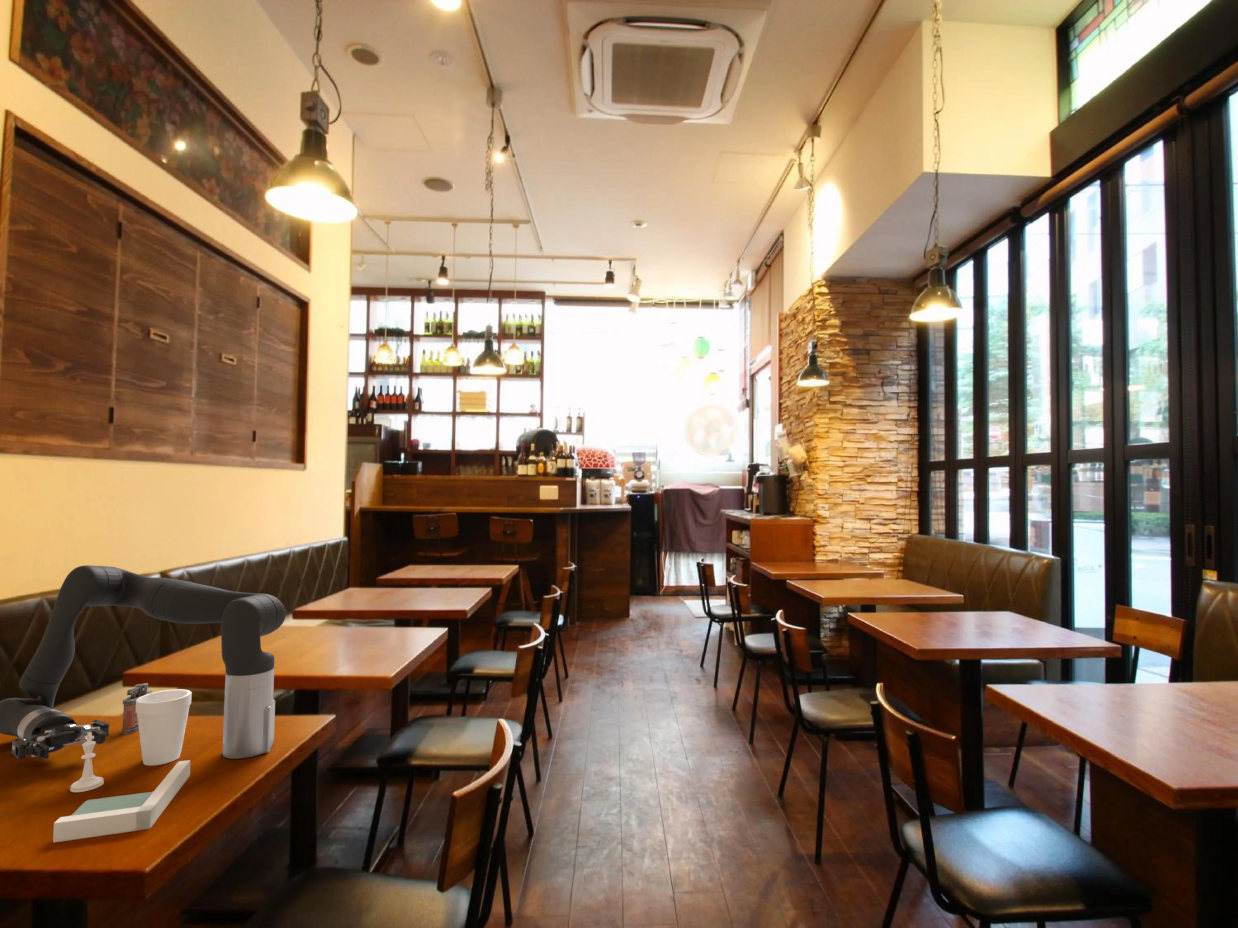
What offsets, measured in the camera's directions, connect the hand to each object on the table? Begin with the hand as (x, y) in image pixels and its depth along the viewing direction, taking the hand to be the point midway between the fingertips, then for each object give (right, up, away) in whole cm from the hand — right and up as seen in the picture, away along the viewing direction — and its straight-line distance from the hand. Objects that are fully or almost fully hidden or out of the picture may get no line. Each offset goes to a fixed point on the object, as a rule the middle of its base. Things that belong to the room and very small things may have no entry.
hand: (75, 745), depth 123 cm
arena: (+19, -5, -12) cm, 23 cm away
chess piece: (+6, -6, -4) cm, 9 cm away
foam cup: (+11, -7, +8) cm, 15 cm away
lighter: (-8, -8, +26) cm, 28 cm away
